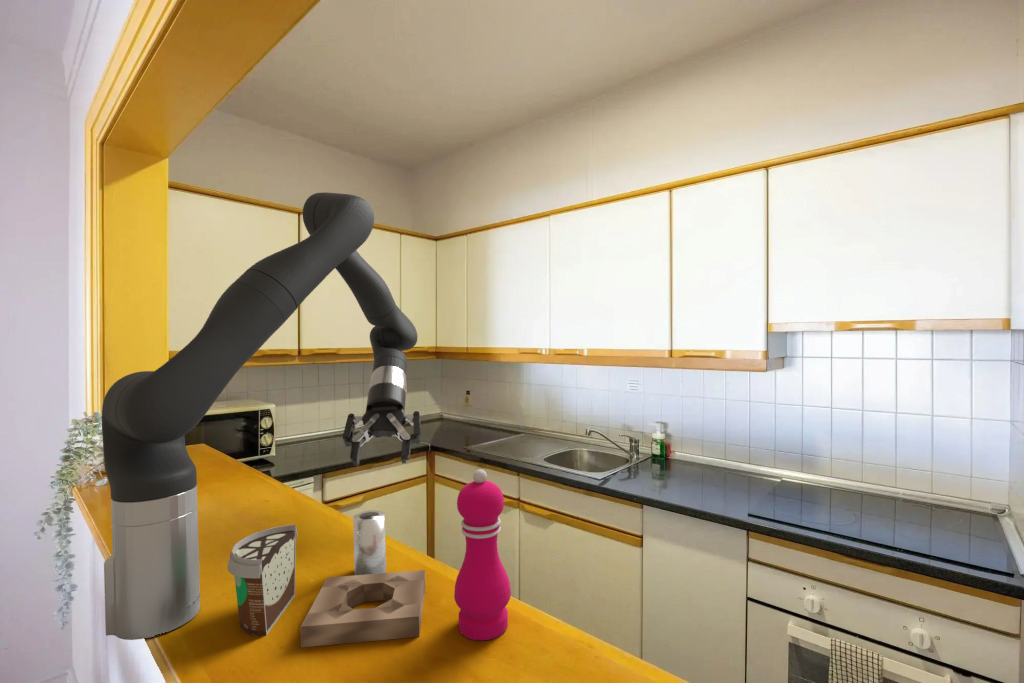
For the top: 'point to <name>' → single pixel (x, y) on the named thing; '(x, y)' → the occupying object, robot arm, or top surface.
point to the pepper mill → (481, 562)
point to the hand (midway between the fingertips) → (379, 462)
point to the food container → (264, 577)
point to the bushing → (369, 542)
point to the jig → (343, 624)
